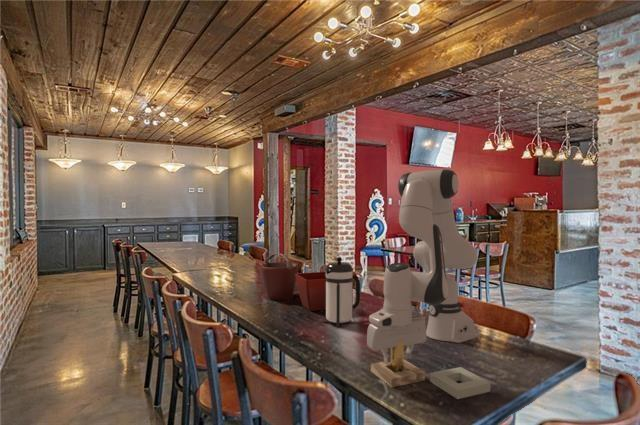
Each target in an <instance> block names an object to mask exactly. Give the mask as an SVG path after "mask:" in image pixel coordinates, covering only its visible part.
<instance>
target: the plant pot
mask: <svg viewBox="0 0 640 425" xmlns="http://www.w3.org/2000/svg"><path fill="white" fill-rule="evenodd" d="M295 276H296V283H295V284H296V287H297V291H298V296H299V298H300V302H301V304H302V306H303V308H305V309H307V310H308V311H310V312H313V311H314V312H315V311H325V282H326V271H315V272H297V274H295Z"/></svg>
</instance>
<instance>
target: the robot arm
mask: <svg viewBox="0 0 640 425" xmlns="http://www.w3.org/2000/svg"><path fill="white" fill-rule="evenodd" d="M397 184H398V185H397V186H398V187H397V189H398V193H399V195H400V197H401V200H400V204H399V211H398V222H399V225H400V227H401V229H402V230H403V231H404V232H406V233H407V234H408V235H409V236H412V237H414V238H416V239H418V240H419V241H418V242H417V243H416V244H415V245H414V247H413V258H414V260H415V262H416V263H417V264H418V265H420V266H421V268H422V269H423V270H424V272H423V271H414V270H411V267H410V265H408V264H407V263H403V262H394V263H390V264H388V265H386V267H385V270H384V276H383V287H382V288H383V291H382V292H383V296H384V302H383V307H382V308H381V309H380V310H378V311H376V312H374V313H372V314H370V315H369V316H368V321H369V322H370V324H369V325H368V327H367V330H366V332H367V333H366V345H367V347H368V348H369V349H371V350H372V351H374V352H375V351H380V352H381V353H382V355H383V362H384V361H385V362H391V355H389V354H388V351H389V349H391V348H394V347H398V340H402V339H403V346H404V347H406V346H407V347H406V350H404V359H405V360H408V359H411V357H412V352H413V350H414V348H415V345H419V344H423V343H425V342H426V341H427V339H428V338H430V339H433V340H436V341H445V342H452V343H458V344H459V343H463V342H467V341H470V340H473V339H476V338H480V337H482V333H481V332H480V331H478V330H476V327H475V326H476V325H475V321H474V320H473V319H472V318H471V317H470V316H469V315H468V314H466V313H465V312H464V311H462V308H463V309H465V308H466V307H467V305H468V304H466V303H465V302H463V301H462V302H460V301H459V285H458V282H457V281H456V280H455V279H454V278H453V277H451V276H450V275H449V274H448V273H447V272H446V269H452V270H453V269H454V270H466V269H467V270H468V269H472V268H473V267H474V266H475V264H476V263H477V260H478V252H477V249H476V247H475V246H474V245H473V244H471V243H470V242H469V241H468V240H466V238H464V236H462V234H461V233H460V232H459V230H458V227H457V224H456V219H455V214H454V206H453V198H454V196H455V195H456V194H457V193H458V189H459V184H460V183H459V178H458V176H457V173H456V172H455V171H454V170H452V169H426V170H421V171H414V172H406V173H404V174H402V175H401V177H400V178H399V180H398V183H397ZM420 240H421V241H420ZM412 302H418V303H424V304H426V305H428V314H429V315H428V319H427V320H428V321H427V326H426V317H425V314H423V313H421V312H417V313H413V305H412Z"/></svg>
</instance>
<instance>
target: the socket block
mask: <svg viewBox="0 0 640 425" xmlns="http://www.w3.org/2000/svg"><path fill="white" fill-rule="evenodd" d="M429 382H430V383H431V384H433V385H435V386H436V387H438V388H439V389H441V390H442V391H444V392H446V393H447V394H449V395H450V396H452V397H453V398H455V399H457V400H460V399H465V398H469V397H473V396H477V395H482V394H486V393H489V392H491V382H490V381H488V380H486V379H484V378H482V377H481V376H478V375H477V374H475V373H473V372H471V371H469V370H467V369H465V368H464V367H461V366H459V367H458V366H457V367H454V368H448V369H444V370H438V371H434V372H430V373H429ZM458 382H459V383H458Z"/></svg>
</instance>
